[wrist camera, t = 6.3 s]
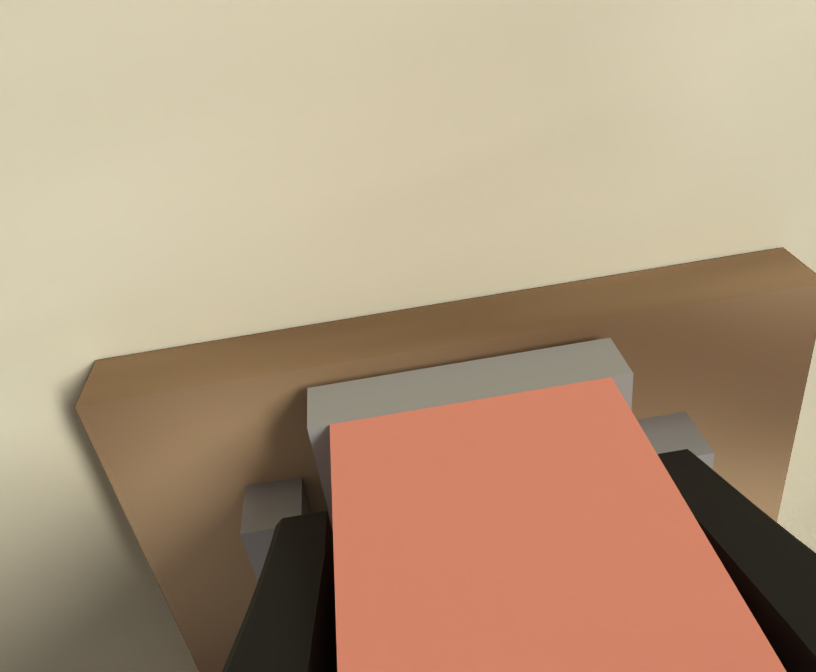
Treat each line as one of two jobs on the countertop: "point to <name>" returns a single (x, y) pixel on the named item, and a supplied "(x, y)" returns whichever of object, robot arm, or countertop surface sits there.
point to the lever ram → (517, 525)
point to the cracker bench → (423, 348)
